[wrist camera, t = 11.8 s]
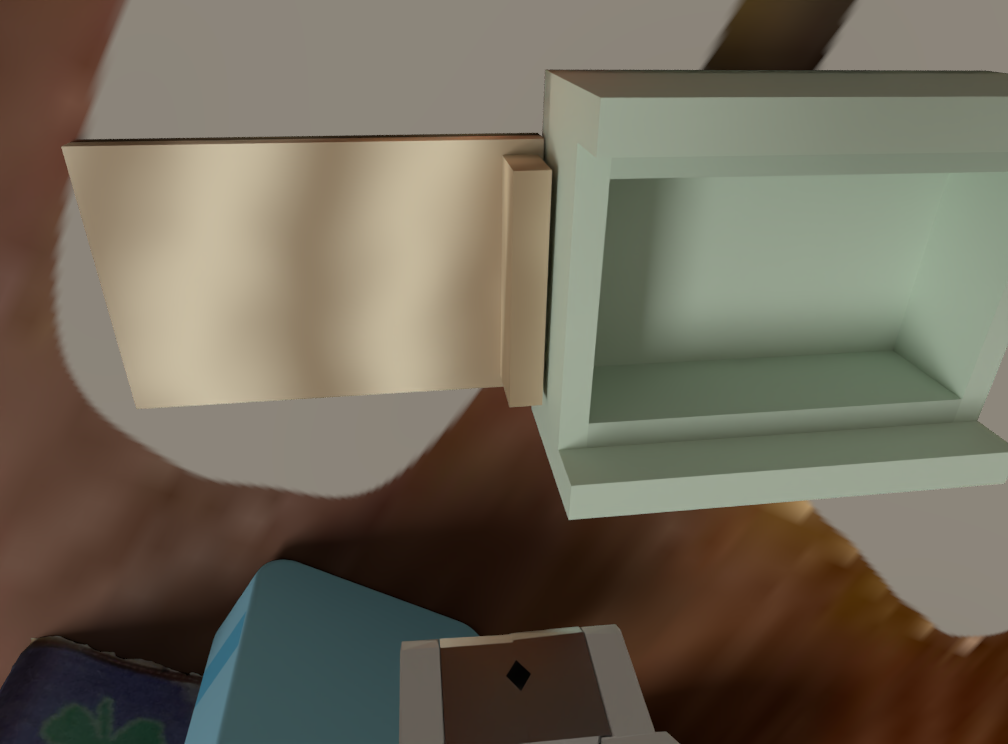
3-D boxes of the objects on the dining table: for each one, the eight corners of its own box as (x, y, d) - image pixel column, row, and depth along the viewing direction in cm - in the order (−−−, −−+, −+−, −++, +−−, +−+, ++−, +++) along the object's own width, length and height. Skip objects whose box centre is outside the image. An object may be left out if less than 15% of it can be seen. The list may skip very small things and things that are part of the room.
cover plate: (537, 132, 24) (559, 153, 21) (530, 370, 29) (546, 416, 25) (76, 139, 22) (24, 163, 19) (146, 393, 27) (113, 445, 24)
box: (985, 70, 25) (1179, 96, 19) (884, 387, 31) (1005, 483, 25) (544, 69, 23) (600, 97, 16) (531, 408, 29) (568, 520, 23)
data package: (219, 612, 32) (135, 914, 21) (263, 546, 30) (196, 835, 20) (440, 684, 36) (459, 962, 26) (488, 629, 35) (529, 900, 24)
